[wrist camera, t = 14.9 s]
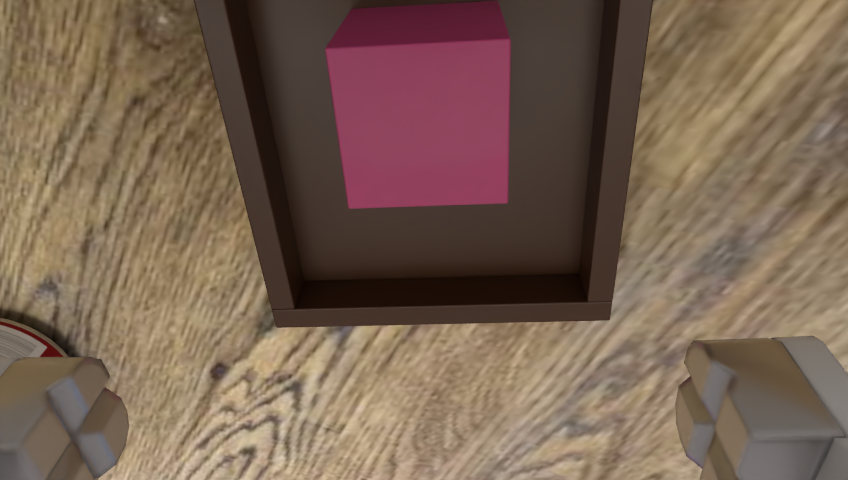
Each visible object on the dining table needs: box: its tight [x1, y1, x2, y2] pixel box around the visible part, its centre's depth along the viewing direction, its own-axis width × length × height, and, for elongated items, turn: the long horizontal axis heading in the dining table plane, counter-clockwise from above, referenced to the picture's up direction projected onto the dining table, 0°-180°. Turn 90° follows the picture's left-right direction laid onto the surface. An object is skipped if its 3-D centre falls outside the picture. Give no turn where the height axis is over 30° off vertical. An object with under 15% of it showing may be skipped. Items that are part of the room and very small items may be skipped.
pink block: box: [325, 1, 511, 209], centre depth 19 cm, size 5×5×5 cm
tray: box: [194, 0, 653, 328], centre depth 21 cm, size 20×14×3 cm
